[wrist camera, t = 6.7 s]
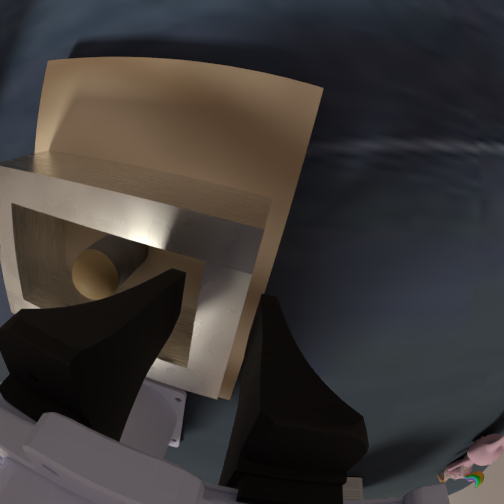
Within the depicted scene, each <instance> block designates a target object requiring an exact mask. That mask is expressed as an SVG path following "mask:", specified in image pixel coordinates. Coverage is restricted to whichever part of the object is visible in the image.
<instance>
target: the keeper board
mask: <svg viewBox="0 0 504 504" xmlns="http://www.w3.org/2000/svg"><path fill="white" fill-rule="evenodd" d="M323 89H324V88H322V87H318V86H315V85H311V84H308V83H304V82H301V81H297V80H293V79H289V78H285V77H281V76H277V75H272V74H268V73H263V72H258V71H253V70H248V69H243V68H237V67H231V66H225V65H219V64H212V63H204V62H196V61H187V60H177V59H164V58H146V57H89V58H72V59H60V60H51V61H48V64H47V69H46V73H45V78H44V83H43V89H42V95H41V101H40V108H39V115H38V123H37V132H36V143H35V153H38V152H43V151H47V150H51V151H57V152H64V153H70V154H76V155H82V156H87V157H93V158H99V159H104V160H110V161H115V162H120V163H125V164H130V165H135V166H140V167H145V168H150V169H155V170H159V171H164V172H169V173H173V174H178V175H182V176H186V177H191V178H195V179H199V180H204V181H208V182H212V183H216V184H220V185H224V186H228V187H232V188H236V189H240V190H244V191H248V192H252V193H255V194H259V195H263V196H267V197H270V198H272V202H271V206H270V210H269V214H268V218H267V222H266V226H265V229H264V233H263V237H262V240H261V244H260V248H259V251H258V255H257V259H256V262H255V266H254V269H253V273H252V277H251V280H250V284H249V287H248V291H247V295H246V298H245V302H244V306H243V309H242V313H241V316H240V320H239V323H238V327H237V331H236V334H235V338H234V341H233V345H232V348H231V352H230V356H229V359H228V363H227V366H226V370H225V373H224V377H223V380H222V384H221V387H220V391H219V395H218V397H220V398H223V399H227V400H230V398H231V395H232V392H233V389H234V386H235V383H236V380H237V377H238V374H239V371H240V368H241V365H242V362H243V359H244V353H245V349H246V345H247V341H248V336H249V332H250V329H251V326H252V323H253V320H254V316H255V313H256V310H257V307H258V304H259V300H260V297H261V294H264V293H265V290H266V287H267V283H268V280H269V277H270V274H271V270H272V267H273V264H274V260H275V257H276V254H277V251H278V247H279V244H280V241H281V237H282V234H283V231H284V227H285V224H286V221H287V217H288V214H289V210H290V207H291V204H292V200H293V197H294V193H295V190H296V186H297V183H298V179H299V176H300V172H301V169H302V165H303V162H304V158H305V155H306V151H307V148H308V144H309V140H310V137H311V133H312V129H313V126H314V122H315V118H316V115H317V111H318V107H319V104H320V100H321V96H322V92H323ZM65 250H66V265H68V266H71V267H73V268H72V278H73V282H74V284H75V286H76V288H77V290H78V291H79V292H80V293H81V294H82V295H84V296H85V297H87V298H89V299H93V300H100V299H103V298H106V297H109V296H111V295H112V294H113V293H114V292H115V291H116V290H117V289H118V288H119V287H120V286H121V285H122V286H125V287H127V288H132V287H135V286H137V285H139V284H141V283H143V282H145V281H147V280H149V279H152V278H154V277H155V276H157V275H159V274H161V273H163V272H165V271H167V270H169V269H171V268H173V269H177V270H180V271H184V272H186V278H185V285H184V292H183V299H182V306H185V307H189V308H192V309H195V310H197V304H198V299H199V293H200V287H201V282H202V276H203V271H204V266H205V261H202V260H198V259H195V258H191V257H188V256H184V255H181V254H177V253H174V252H170V251H167V250H163V249H160V248H156V247H153V246H150V245H146V244H143V243H139V242H136V241H133V240H129V239H126V238H123V237H119V236H116V235H113V234H109V233H106V232H103V231H99V230H96V229H93V228H90V227H86V226H83V225H80V224H77V223H74V222H70V221H67V220H65Z"/></svg>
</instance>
